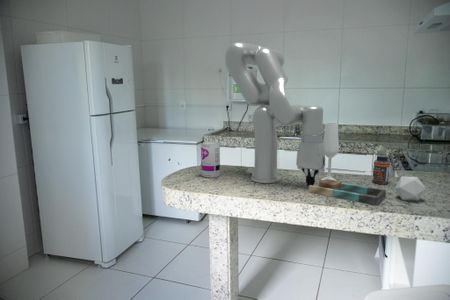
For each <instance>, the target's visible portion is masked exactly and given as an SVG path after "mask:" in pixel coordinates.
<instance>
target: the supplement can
mask: <svg viewBox="0 0 450 300" xmlns="http://www.w3.org/2000/svg"><path fill="white" fill-rule="evenodd" d="M220 147H221V146H220V144H219V142H218V141H203V142H202V144H201V145H200V155H201V156H200V157H201V159H200V161H201V162H200V163H201V169H200V170H201V176H202V177H203V178H207V179H214V178H218V177H219V176H220V175H221V156H220V155H221V154H220V153H221V151H220Z"/></svg>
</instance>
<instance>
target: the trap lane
mask: <svg viewBox="0 0 450 300" xmlns="http://www.w3.org/2000/svg"><path fill="white" fill-rule="evenodd" d="M322 179H323V178H321V179H319V181H318V183H319V182H320V181H323V180H322ZM308 193H310V194H311V193H312V194H316V195H321V196H326V197H331V198H335V199H341V200H347V201H352V202H358V203H362V204H367V205H372V206H379V204H380V203H381V202H382V201H383V200H384V199H385V198H386V196H387V195H386V193H387V189H382V188H375V187H370V186H365V185H364V186H362V185H359V184H358V185H357V184H351V183H345V182H342V185H341V191H340V190H335V189H329V188H324V187H319V185H317V186H316V185H313V186H312V185H309V186H308Z"/></svg>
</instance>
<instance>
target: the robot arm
mask: <svg viewBox="0 0 450 300" xmlns="http://www.w3.org/2000/svg"><path fill="white" fill-rule="evenodd" d="M224 59H225V62H224V63H225V66H226V69H227V71H228V73H229V74H230V76H231V78H232V79H233V81H234V83H235V85H236V87H237V88H238V90H239V92H240V95H241V96H242V98H243V99H244V100H245V102H246V104H247V105H248V106H251V107H257V108H256V109H255V110H254V111H253V114H252V125H253V131H254V167H248V169H247V170H246V171H247V173H249V174H252V175H251V176H250V180H251V181H252V182H255V183H260V184H273V183H279V182H281V176H280V175H278V146H279V145H278V141H279V140H278V133H277V127H280V126H281V127H282V126H287V127H288V126H295V125H301V134H298V139H300V140H301V141H299V142H298V147H297V152H296V161H295V162H296V167H297V170H300V171H301V172H303V173H304V176H305V184H306V187H309V185H312V186H315V182H316V175H318V174H321V173H324V172H325V171H326V170H325V168H326V155H325V149H324V143H323V126H324V124H323V123H324V108H323V107H321V106H319V105H317V106H316V105H306V106H305V105H299V104H294V105H291V104H290V102H289V100H288V98H287V96H286V93H285V87H286V85H287V82H288V81H289V80H288V76H287V75H286V73H285V71H284V69H283V65H284V62H285V57H284V55H283V53H282V52H281V51H280V50H278V49H274V48H270V47H266V46H262V45H258V44H254V43H253V44H252V43H248V42H241V41H237V42H233V43H231V44H230V45H228V47H227V49H226V52H225V56H224ZM246 64H247V65H252V66H256V68H257V69H258V72H259V74H260V76H261V77H262V79H263V81H264V83H262V82H259V81H258V79H257V78H256V76H255V74H254V72H253V71H252V70H251V69H250V67H248V66H247V65H246Z"/></svg>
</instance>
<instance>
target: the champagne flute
mask: <svg viewBox="0 0 450 300" xmlns="http://www.w3.org/2000/svg"><path fill="white" fill-rule="evenodd" d="M323 134H324V135H323V139H322V143H324V149H325V157H327V158H328V160H327V161H328V162H327V166H328V167H327V176H324V177H323V178H321V179H322V180H325V179H330V180H335V181H338V180H337V179H335V178H334V177H332V175H331V174H332V173H331V172H332V158H334V157H335V156H337V155H338V153H339V151H340V145H339V144H340V142H339V123H334V122H327V123H325V126H324V133H323Z"/></svg>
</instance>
